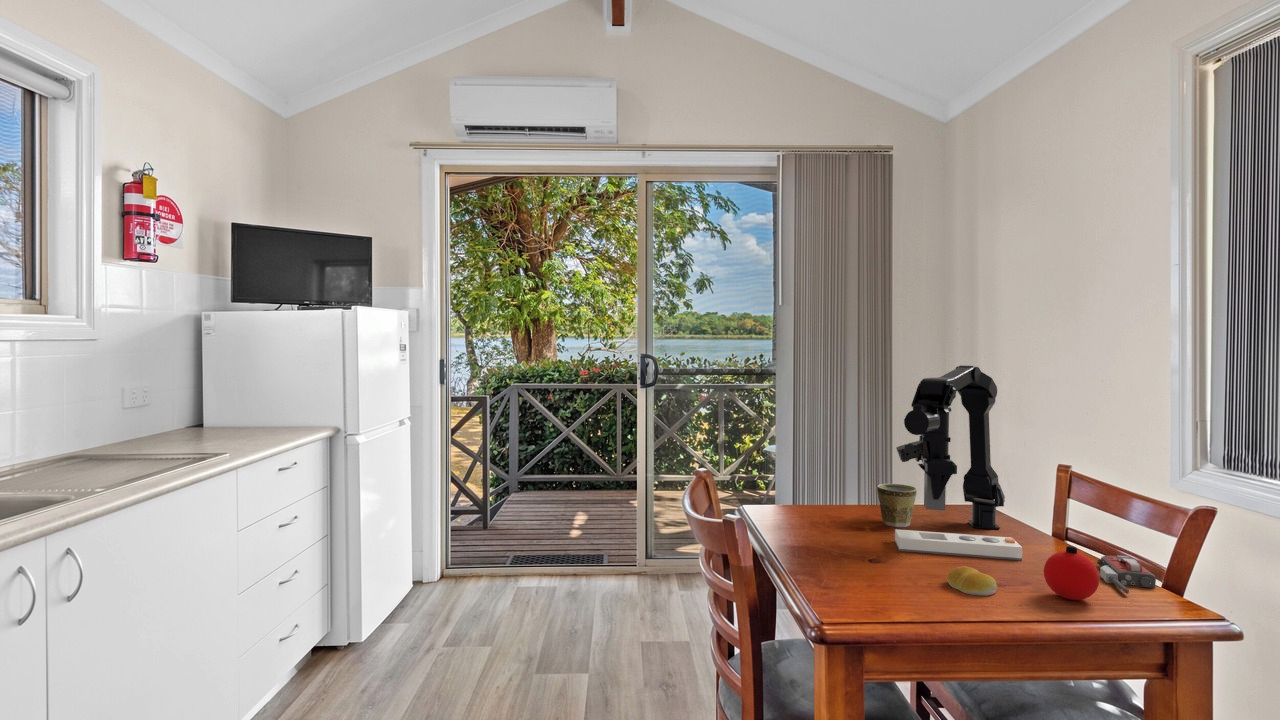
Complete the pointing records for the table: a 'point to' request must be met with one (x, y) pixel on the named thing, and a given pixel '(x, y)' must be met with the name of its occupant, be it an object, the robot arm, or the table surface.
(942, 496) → the grey rectangular block
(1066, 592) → the ornament
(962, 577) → the bread roll
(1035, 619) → the table surface
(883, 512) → the ceramic cup
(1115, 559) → the walkie-talkie
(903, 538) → the power strip
